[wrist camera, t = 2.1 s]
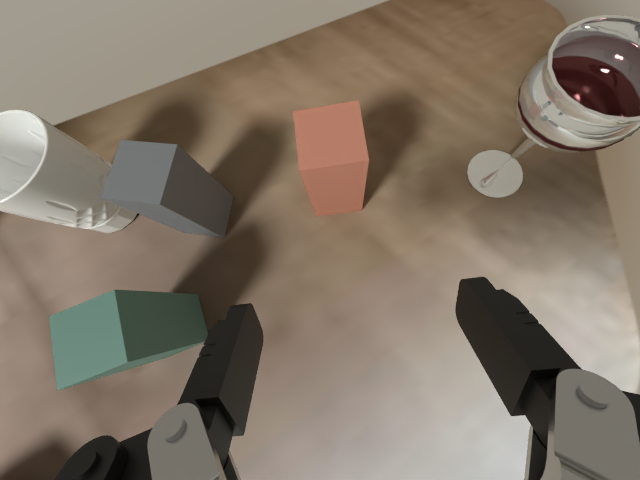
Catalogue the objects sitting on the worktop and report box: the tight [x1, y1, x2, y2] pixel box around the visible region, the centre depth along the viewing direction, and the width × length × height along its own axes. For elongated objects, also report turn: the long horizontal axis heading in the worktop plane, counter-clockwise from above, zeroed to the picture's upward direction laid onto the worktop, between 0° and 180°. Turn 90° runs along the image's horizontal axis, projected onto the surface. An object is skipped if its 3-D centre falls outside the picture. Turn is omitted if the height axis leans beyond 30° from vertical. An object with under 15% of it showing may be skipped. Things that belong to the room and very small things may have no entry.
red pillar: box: [293, 100, 369, 216], centre depth 22 cm, size 4×4×10 cm
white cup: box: [0, 109, 138, 233], centre depth 24 cm, size 8×8×10 cm
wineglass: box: [467, 15, 640, 198], centre depth 20 cm, size 7×7×12 cm
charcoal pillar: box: [101, 140, 234, 238], centre depth 23 cm, size 4×4×10 cm
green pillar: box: [49, 290, 208, 391], centre depth 21 cm, size 4×4×10 cm
